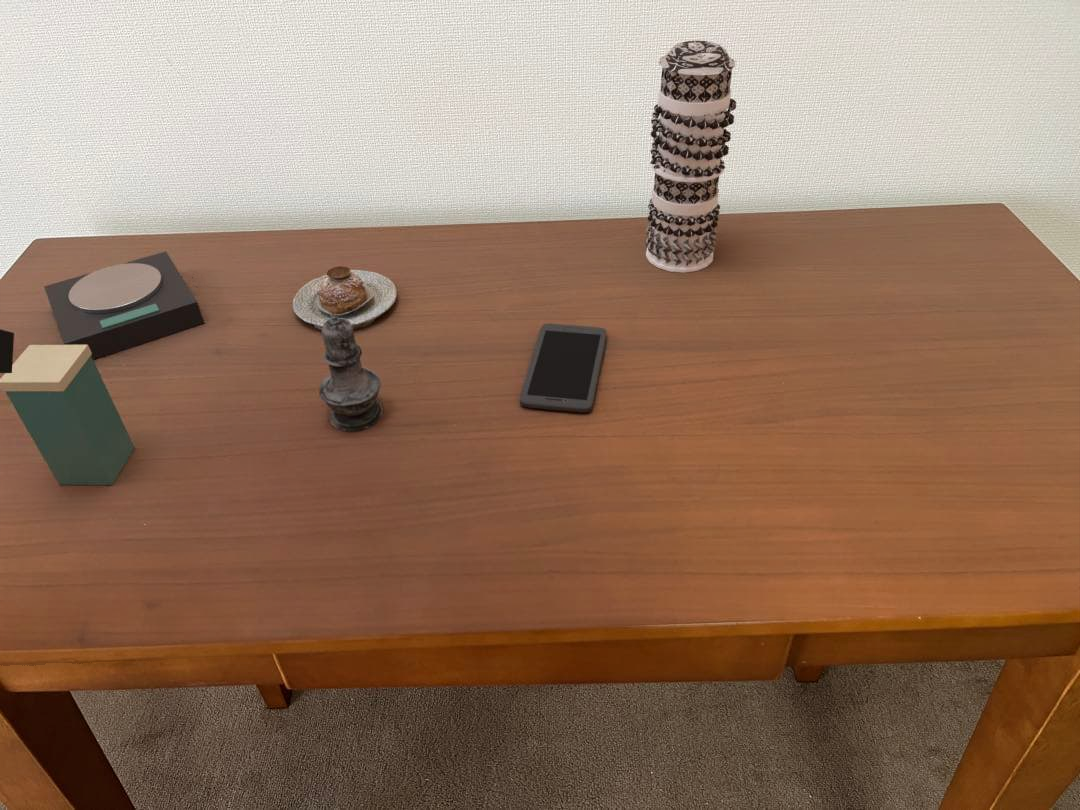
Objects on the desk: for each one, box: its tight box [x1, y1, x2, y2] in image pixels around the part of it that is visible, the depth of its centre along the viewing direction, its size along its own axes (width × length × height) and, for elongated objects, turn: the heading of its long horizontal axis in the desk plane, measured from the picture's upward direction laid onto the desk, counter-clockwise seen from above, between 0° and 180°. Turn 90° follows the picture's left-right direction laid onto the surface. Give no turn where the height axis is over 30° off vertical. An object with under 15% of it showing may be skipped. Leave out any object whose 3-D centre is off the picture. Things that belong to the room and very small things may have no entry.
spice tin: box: [0, 344, 136, 486], centre depth 73 cm, size 5×5×12 cm
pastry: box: [292, 265, 398, 331], centre depth 95 cm, size 12×12×5 cm
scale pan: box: [69, 263, 162, 314], centre depth 95 cm, size 10×10×1 cm
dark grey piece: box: [318, 312, 384, 433], centre depth 77 cm, size 6×6×12 cm
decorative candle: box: [645, 40, 737, 274], centre depth 95 cm, size 9×9×25 cm
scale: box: [43, 250, 205, 361], centre depth 95 cm, size 14×14×3 cm
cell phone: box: [519, 323, 607, 414], centre depth 85 cm, size 7×14×1 cm, turn 170°
